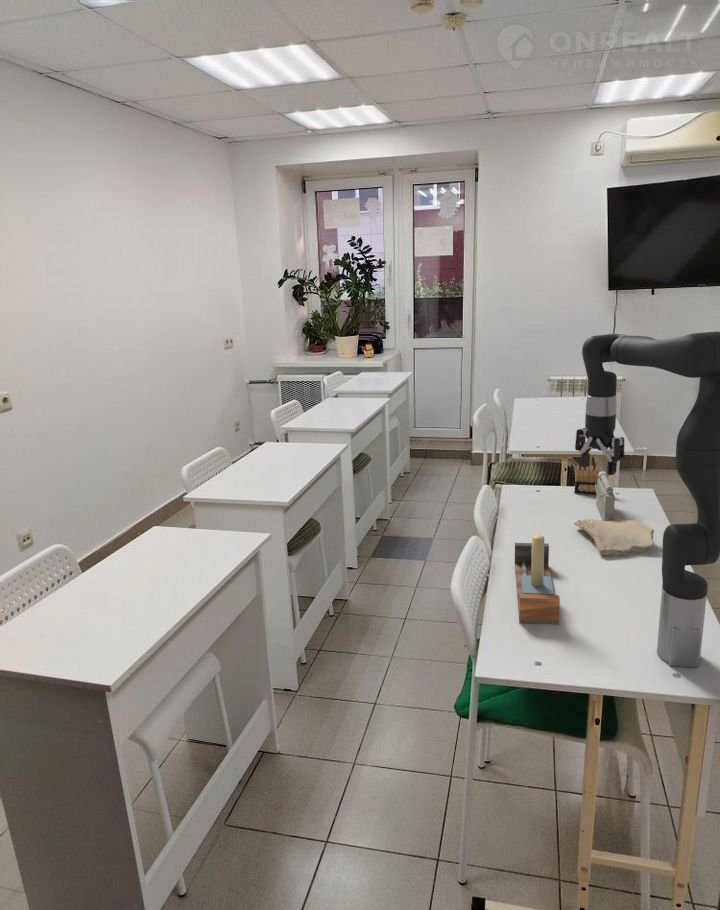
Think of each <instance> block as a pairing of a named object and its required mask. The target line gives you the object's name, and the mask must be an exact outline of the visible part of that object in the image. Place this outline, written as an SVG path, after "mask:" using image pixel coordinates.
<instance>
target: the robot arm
mask: <svg viewBox="0 0 720 910" xmlns="http://www.w3.org/2000/svg"><path fill="white" fill-rule="evenodd" d="M581 356H582V360H583V364H584V368H585V373H586V376H587V377H586V378H587V392H586V393H587V395H586V402H585V415H584V416H585V417H584V418H585V421H584V424H585V425H584V428H579V429H576V433H575V443H574V445H575V446H574V450H575V451H578V452H579V453H580V455H581V459H580V464H581V467H584V469H586V467H590V464H591V463H590V461H591V453H590V452H591V450H593V449H594V450H598V451H600V452H602V453H603V455H605V457H606V458H607V460H608V461H607V467H606V468H607V469H606V471H607V472H606V474H607V476H613V475H615V474H616V473H617V469H618V468H617V467H618V466H617V465H618V462H619V461H623V460H624V459H625V437H623V436H621V437H616V436H615V435H614V432H615V429H616V425H617V406H618V404H617V402H618V401H617V388H618V386H617V385H618V377H617V375H616V373H615V372H614V371H610V370H609V371H608V370H605V369H604V366H603V364H604V363H612V362H613V363H614V362H615V363H617V364H620V365H625V366H633V367H647V368H649V367H650V368H655V369H660V370H664V371H666V372H668V373H672V374H675V375H677V376H678V375H679V376H681V377H684V378H690V379H691V378H692V379H696V378H697V379H698V378H699V384H698V385H699V386H698V392H697V396H696V400H695V403H694V404H693V407H692V409H691V410H690V411H689V413H688V415H687V417H686V418H685V420H684V422H683V423H682V426H681V427H680V429H679V431H678V434H677V436H676V445H675V460H674V461H675V468H676V471H677V474H678V475H679V477H680V478H681V481H682V482H683V483H684V484H685V486H686V487H687V489H688V491H689V492H690V494H691V496H692V497H693V500H694V502H695V503H696V504H695V505H696V509H697V510H696V511H697V521H696V523H674V524H669V525H668V526H667V527H665V528H664V531H663V534H662V535H663V536H662V552H661V553H662V554H661V555H662V556H661V557H662V558H661V559H662V560H661V577H662V578H661V579H662V586H661V598H660V607H659V608H660V609H659V621H658V633H657V642H656V644H657V645H656V653H657V655H658V657H659V658H660V659H661V660H662V661H664V662H666V663H667V664H668V665H669V666H671V667H685V668H687V667H688V668H698V667H699V663H700V661H701V655H702V647H703V645H702V644H703V634H704V624H705V618H706V617H705V614H706V607H707V596H708V587H709V586H708V581H707V580H706V579H705V578H704V577H703V576H702V575H700V574H698V573H696V572H693V571H690V570H687V569H686V566H702V565H703V566H704V565H712V564H715V563H716V562H717V561H718V559H719V558H720V331H705V332H694V333H689V334H686V335H682V336H677V337H671V338H667V339H665V338H664V339H655V338H653V337H652V336H651V337H650V336H645V335H626V334H621V333H610V334H609V333H608V334H599V335H591V336H589V337H587V338H586V339H585V340H584V342H583V344H582V349H581Z"/></svg>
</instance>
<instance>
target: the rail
mask: <svg viewBox="0 0 720 910" xmlns="http://www.w3.org/2000/svg"><path fill="white" fill-rule="evenodd" d="M549 553H550V545H549V543H544V576H551V571H550V565H549V562H550V561H549V560H550V559H549V557H550V554H549ZM531 563H532V542H514V573H515V574H514V575H515V584H516V585H515V586H516V597H517V609H518V610H517V611H518V622H519V624H530V625H531V624H532V625H533V624H534V625H553V626H554V625H555V626H557V625H558V626H559V625H560V605H561V604H560V602H561V599H560V595H558V594H554V595H536V594H522V593H521V575H524V576H531ZM551 577H552V576H551Z"/></svg>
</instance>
